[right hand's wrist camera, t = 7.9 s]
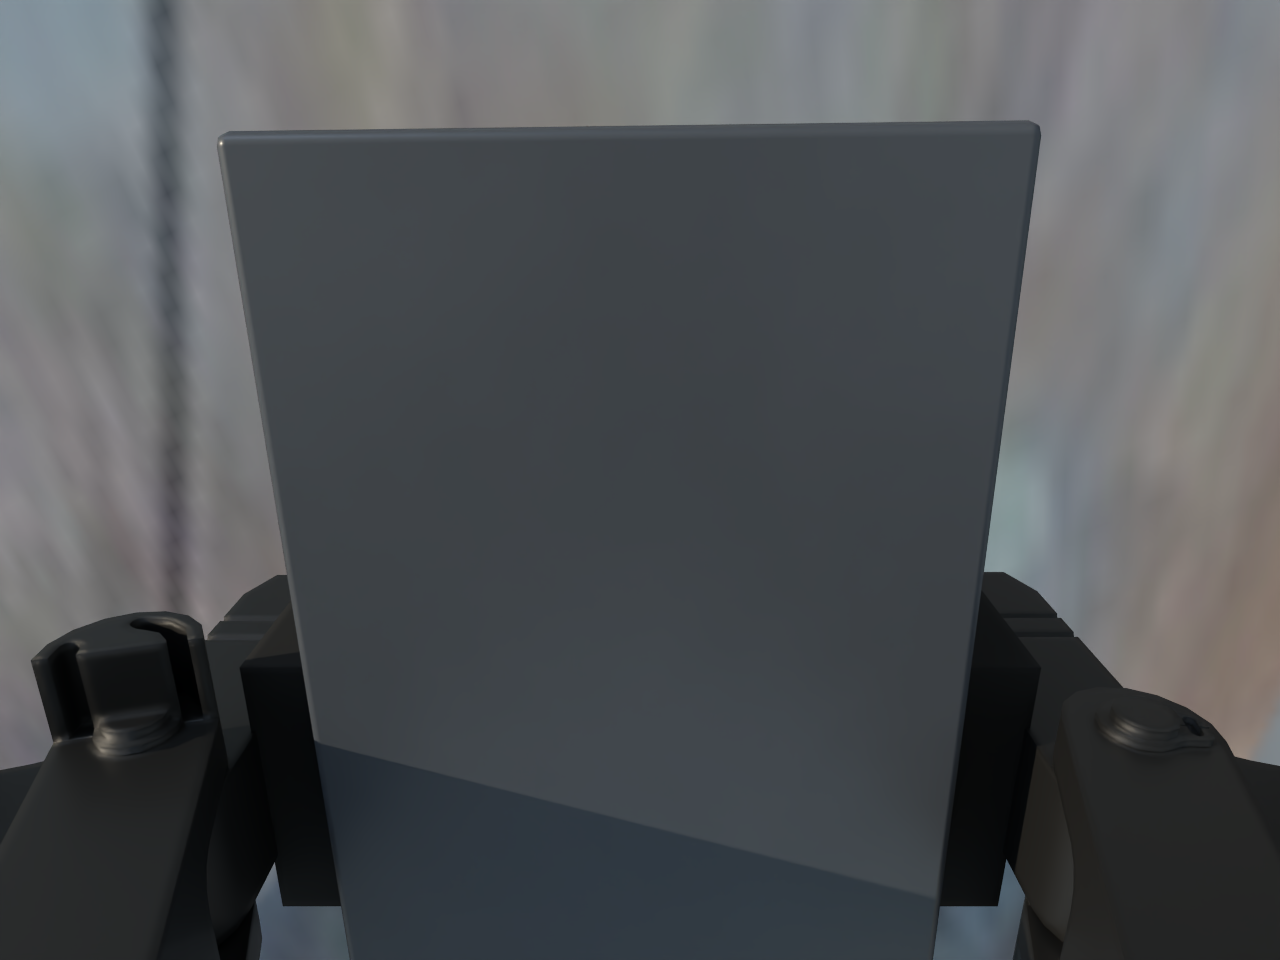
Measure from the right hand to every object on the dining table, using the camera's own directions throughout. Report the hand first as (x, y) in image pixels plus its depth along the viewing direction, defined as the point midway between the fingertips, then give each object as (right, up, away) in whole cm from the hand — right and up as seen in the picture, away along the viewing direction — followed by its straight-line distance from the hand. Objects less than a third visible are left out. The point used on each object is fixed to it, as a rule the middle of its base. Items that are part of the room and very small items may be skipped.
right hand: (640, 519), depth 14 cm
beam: (0, -22, +9) cm, 23 cm away
